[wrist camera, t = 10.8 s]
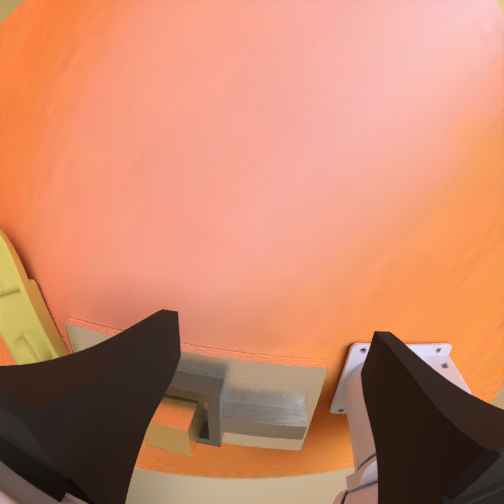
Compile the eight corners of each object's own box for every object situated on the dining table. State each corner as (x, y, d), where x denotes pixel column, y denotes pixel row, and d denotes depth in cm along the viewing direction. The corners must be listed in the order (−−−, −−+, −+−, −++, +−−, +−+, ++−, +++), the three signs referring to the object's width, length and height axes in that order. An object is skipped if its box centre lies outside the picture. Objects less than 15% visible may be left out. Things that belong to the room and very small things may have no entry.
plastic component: (79, 390, 24) (12, 398, 21) (86, 348, 30) (26, 360, 27) (-3, 202, 16) (-68, 234, 13) (28, 189, 23) (-34, 216, 20)
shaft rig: (326, 359, 21) (330, 386, 18) (300, 443, 25) (300, 465, 22) (70, 317, 23) (52, 333, 20) (98, 402, 27) (86, 419, 24)
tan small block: (203, 385, 22) (187, 430, 17) (205, 414, 23) (192, 456, 19) (158, 376, 23) (136, 418, 18) (164, 406, 24) (146, 445, 19)
